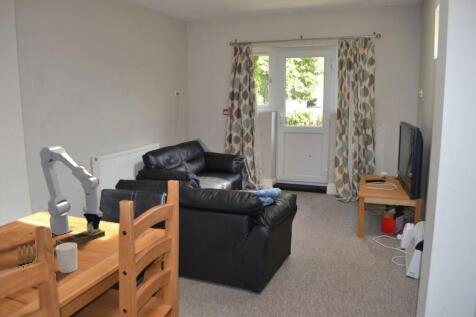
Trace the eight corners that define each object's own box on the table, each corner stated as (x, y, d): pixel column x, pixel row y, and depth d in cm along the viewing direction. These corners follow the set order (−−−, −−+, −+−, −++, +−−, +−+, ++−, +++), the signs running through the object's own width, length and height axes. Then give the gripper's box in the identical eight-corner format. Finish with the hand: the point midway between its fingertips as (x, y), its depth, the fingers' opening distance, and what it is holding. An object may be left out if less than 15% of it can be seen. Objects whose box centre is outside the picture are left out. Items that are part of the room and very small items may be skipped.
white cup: (61, 265, 168) (59, 242, 166) (81, 264, 168) (79, 242, 166) (54, 274, 160) (52, 250, 158) (75, 273, 160) (73, 249, 159)
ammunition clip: (19, 276, 158) (15, 247, 156) (19, 274, 160) (16, 245, 158) (49, 270, 163) (46, 242, 161) (48, 269, 165) (46, 241, 162)
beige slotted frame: (55, 244, 190) (55, 239, 190) (96, 231, 206) (95, 227, 206) (64, 248, 185) (64, 243, 185) (105, 235, 201) (104, 231, 201)
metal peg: (87, 234, 200) (86, 223, 199) (94, 232, 203) (94, 221, 202) (91, 236, 198) (91, 224, 197) (99, 234, 201) (98, 222, 200)
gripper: (76, 200, 199) (78, 226, 202) (92, 205, 190) (94, 233, 193) (89, 197, 205) (91, 223, 207) (105, 202, 196) (107, 229, 198)
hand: (93, 227), depth 200 cm, fingers closed on metal peg, 4 cm apart
